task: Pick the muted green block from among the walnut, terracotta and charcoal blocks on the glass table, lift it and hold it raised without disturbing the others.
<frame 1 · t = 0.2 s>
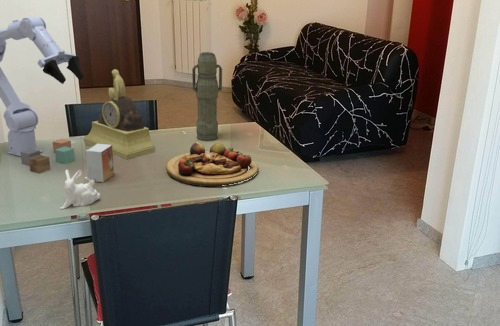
hand: (73, 80, 166), 30 cm above the table, tool tilted 45°, fingers open, 7 cm apart
decorative clock: (118, 147, 198), on the table
small box: (101, 178, 168), on the table
walnut block: (40, 170, 173), on the table
wooden plate with food: (212, 171, 178), on the table
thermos: (207, 138, 212), on the table
rabbit figurine: (79, 202, 150), on the table
terracotta block: (62, 152, 190), on the table
charcoal block: (31, 163, 179), on the table
green block: (65, 161, 182), on the table
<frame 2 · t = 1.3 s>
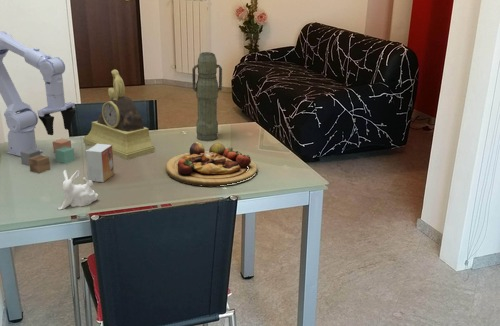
hand: (59, 131, 179), 10 cm above the table, tool pointing down, fingers open, 7 cm apart
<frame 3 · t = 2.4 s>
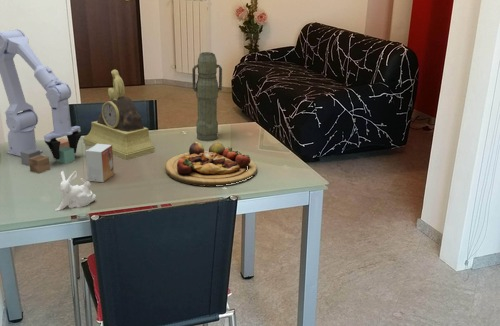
hand: (65, 155, 181), 2 cm above the table, tool pointing down, fingers open, 7 cm apart
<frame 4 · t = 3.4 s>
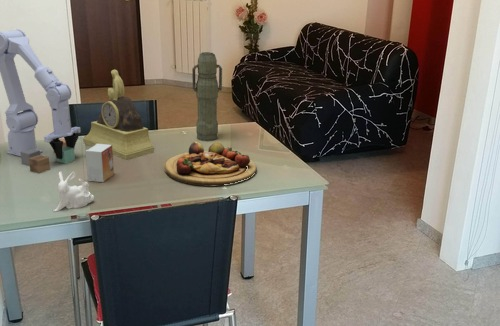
hand: (65, 156, 181), 2 cm above the table, tool pointing down, fingers closed on green block, 4 cm apart
green block: (65, 160, 182), on the table, touching gripper
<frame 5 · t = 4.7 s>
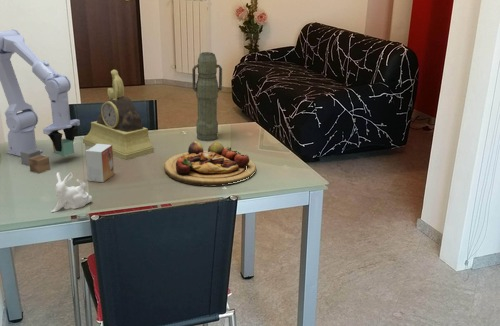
hand: (64, 148, 180), 4 cm above the table, tool pointing down, fingers closed on green block, 4 cm apart
green block: (64, 153, 181), point 3 cm above the table, touching gripper
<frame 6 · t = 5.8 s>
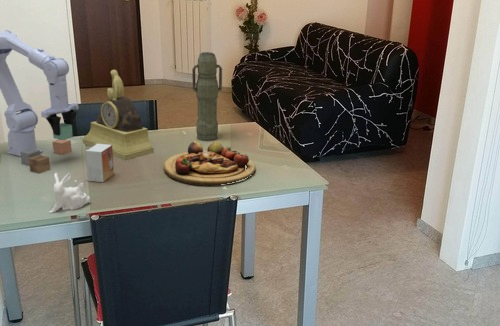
hand: (62, 133, 178), 10 cm above the table, tool pointing down, fingers closed on green block, 4 cm apart
green block: (63, 137, 179), point 9 cm above the table, touching gripper
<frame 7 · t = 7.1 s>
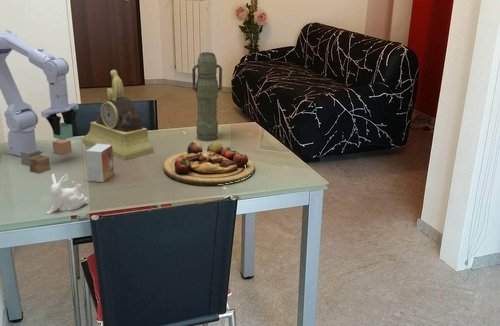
hand: (62, 132, 178), 10 cm above the table, tool pointing down, fingers closed on green block, 4 cm apart
green block: (63, 137, 179), point 9 cm above the table, touching gripper
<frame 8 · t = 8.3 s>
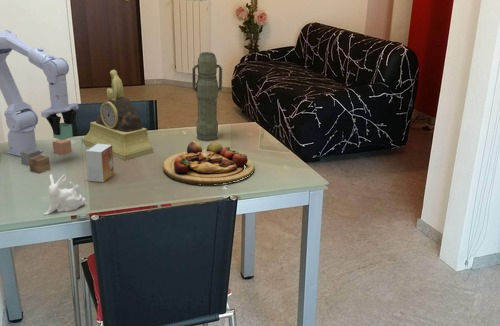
hand: (62, 132, 178), 10 cm above the table, tool pointing down, fingers closed on green block, 4 cm apart
green block: (63, 137, 179), point 9 cm above the table, touching gripper
at the end: the gripper is holding green block; green block point 8.8 cm above the table; walnut block moved 0.1 cm from its start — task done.
